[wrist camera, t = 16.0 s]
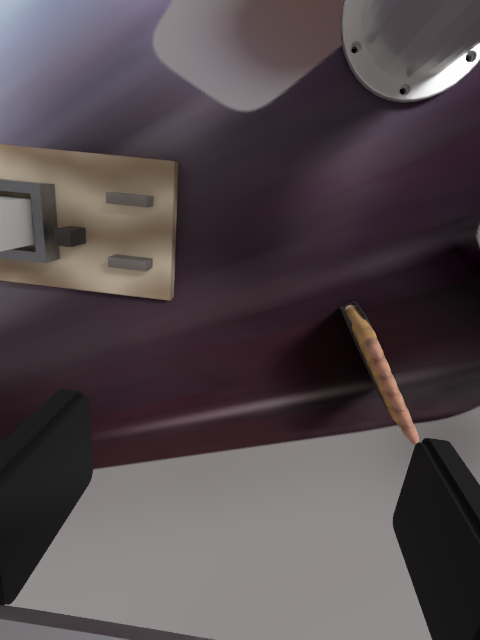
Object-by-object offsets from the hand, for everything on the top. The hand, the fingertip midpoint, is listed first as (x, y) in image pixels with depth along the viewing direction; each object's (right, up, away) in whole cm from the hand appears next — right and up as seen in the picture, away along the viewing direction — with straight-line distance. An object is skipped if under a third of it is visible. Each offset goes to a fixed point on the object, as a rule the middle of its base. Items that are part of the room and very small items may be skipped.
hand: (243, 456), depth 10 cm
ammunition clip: (+14, +1, +31) cm, 34 cm away
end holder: (-23, +14, +28) cm, 39 cm away
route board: (-17, +14, +29) cm, 36 cm away
